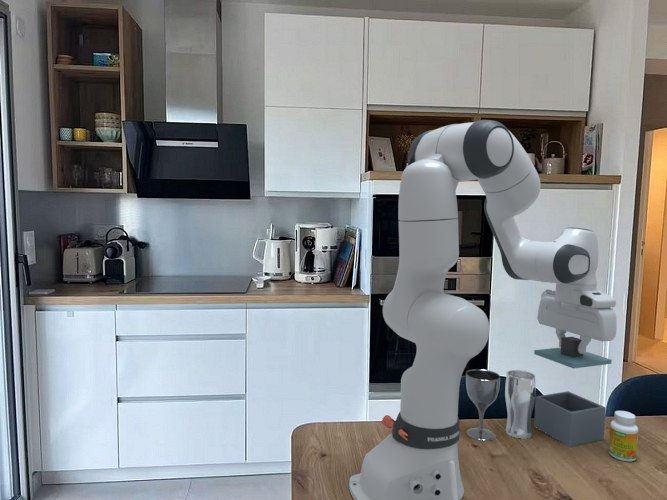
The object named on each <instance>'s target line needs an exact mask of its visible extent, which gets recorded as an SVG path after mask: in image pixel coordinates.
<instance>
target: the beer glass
mask: <svg viewBox="0 0 667 500" xmlns="http://www.w3.org/2000/svg"><path fill="white" fill-rule="evenodd" d="M536 386H537V384H536V375H535V374H533V373H532V372H529V371H526V370H519V369H513V370H512V369H511V370H508V371H507V372H506V378H505V387H504V389H505V390H504V397H505V403H506V404H505V405H506V412H507V420H506V425H505V431H506V432H505V433H506V434H507V436H509V435H510V436H509V437H511V436H512V437H511V438H514V437H515V438H514V439H518V438H521V439H520V440H528V439H530V438H532V436H533V435H532V434H533V433H532V432H533V431H532V426H531V420H532V414H533V411H534V408H535V399H536V395H537V394H536V391H537V389H536ZM527 438H528V439H527Z"/></svg>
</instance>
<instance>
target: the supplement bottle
mask: <svg viewBox="0 0 667 500" xmlns="http://www.w3.org/2000/svg"><path fill="white" fill-rule="evenodd" d="M638 439H639V426H637V425H636V415H635V414H633V413H631V412H629V411H625V410H615V411H614V418H613V420H612V421H610V426H609V442H608V453H609V455H610V456H611V457H613V458H614V459H616V460H619V461H624V462H633V461H636V460H637V458H638V457H637V455H638V443H639V442H638V441H639V440H638Z"/></svg>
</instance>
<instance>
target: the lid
mask: <svg viewBox="0 0 667 500" xmlns="http://www.w3.org/2000/svg"><path fill="white" fill-rule="evenodd" d="M581 341H582V340H580V337H579V338H578V337H575V336H566V337H562V339H561V347H551V348H545V349H544V348H543V349H534V350H533V353H534V355H535V356H539V357H542V358H544V359H547V360H549V361H552V362H554V363H558V364H561V365H563V366H566V367H568V368H571V369H580V368H588V367H598V366H604V365H612V359H610V358H608V357H605V356H600V355H598V354H595V353H592V352H589V351H586V353H585V354H580V353H577V352H576V351H575V350H576V345H579V344H580V343H581Z"/></svg>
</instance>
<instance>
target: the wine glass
mask: <svg viewBox="0 0 667 500" xmlns="http://www.w3.org/2000/svg"><path fill="white" fill-rule="evenodd" d="M465 385H466V392H467V395H468V397H469V399H470V400H471V401H472V403H473V405H475V407H476V408H477V410H478V418H479V425H478V427H479V428H478V427H477V426H474V427H475V428H472V427H470V428H471V429H468V428H467V429H468V431H467V434H469V435H470V437H469V438H471V437H472V438H471V439H473V438H474V439H473V440H476V439H477V441H482V440H483V441H485V442H487V441H493V440H495V439H496V438H497V435H496V433H495V432H494V431H492V430H491V429H488V428H484V425H483V424H484V422H483V421H484V416H485V412H486V410H487V409H488V408H489V407H490V406H491V405H492V404H493V403H494V402H495V401H496V400H497V398H498V394H499V391H500V386H501V375H500V374H499V373H497V372H495V371H493V370H489V369H484V368H483V369H479V368H476V369H475V368H474V369H468V370H466V372H465ZM476 427H477V428H476ZM490 430H491V431H490ZM493 432H494V433H495V434H494V433H493ZM467 434H466V435H467Z"/></svg>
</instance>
